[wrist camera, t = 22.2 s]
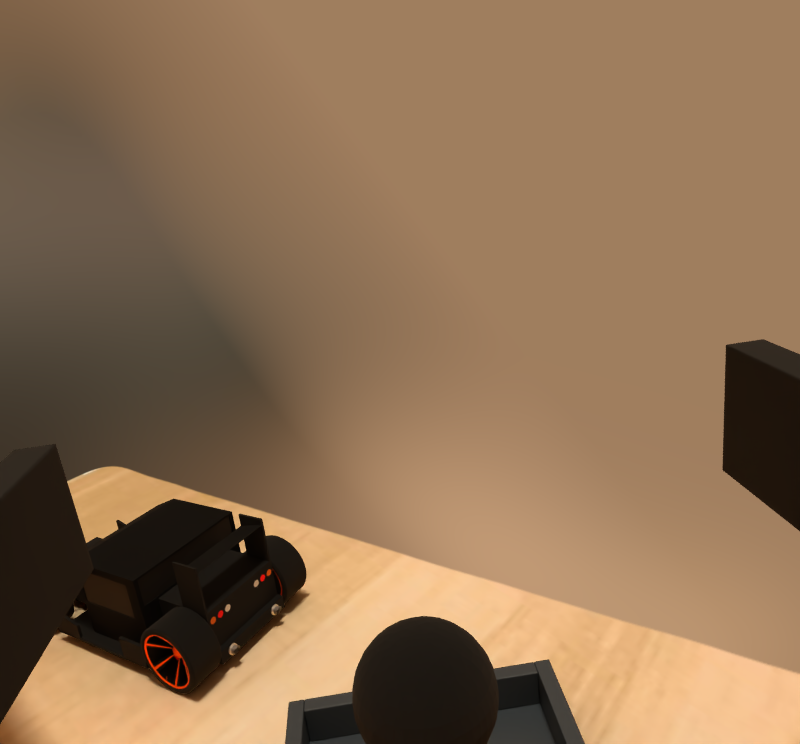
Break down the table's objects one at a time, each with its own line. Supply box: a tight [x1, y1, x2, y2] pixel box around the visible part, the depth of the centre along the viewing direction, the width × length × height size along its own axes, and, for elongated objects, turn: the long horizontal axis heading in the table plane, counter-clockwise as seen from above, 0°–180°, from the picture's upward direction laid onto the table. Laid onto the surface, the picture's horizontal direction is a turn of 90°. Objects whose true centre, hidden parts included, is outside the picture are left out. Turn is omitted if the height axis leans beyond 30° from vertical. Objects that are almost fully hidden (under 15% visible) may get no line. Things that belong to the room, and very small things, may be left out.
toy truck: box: [59, 499, 306, 694], centre depth 46 cm, size 10×20×7 cm, turn 60°
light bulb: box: [352, 616, 499, 744], centre depth 28 cm, size 6×6×10 cm
